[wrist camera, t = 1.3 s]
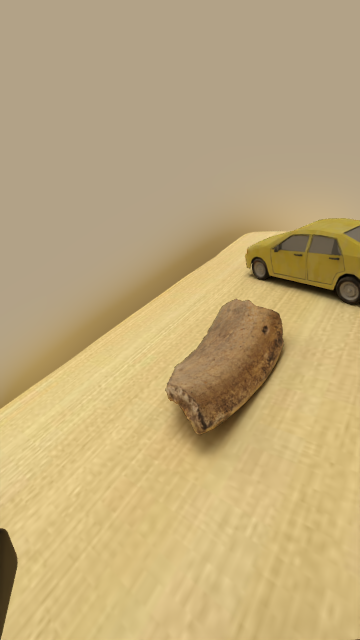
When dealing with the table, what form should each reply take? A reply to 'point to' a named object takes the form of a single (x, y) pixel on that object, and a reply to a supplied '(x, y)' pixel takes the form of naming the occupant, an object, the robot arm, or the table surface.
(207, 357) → the fossil
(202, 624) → the table surface
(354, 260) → the toy car
